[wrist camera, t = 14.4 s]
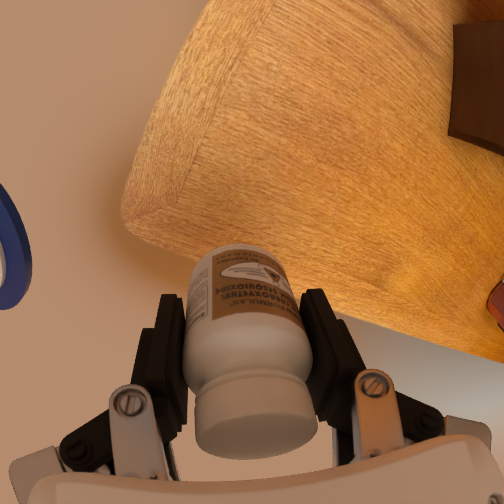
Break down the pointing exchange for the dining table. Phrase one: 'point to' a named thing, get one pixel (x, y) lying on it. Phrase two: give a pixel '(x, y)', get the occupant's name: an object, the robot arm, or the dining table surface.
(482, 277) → the dining table surface
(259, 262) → the pill bottle
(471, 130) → the display box
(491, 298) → the beverage can
